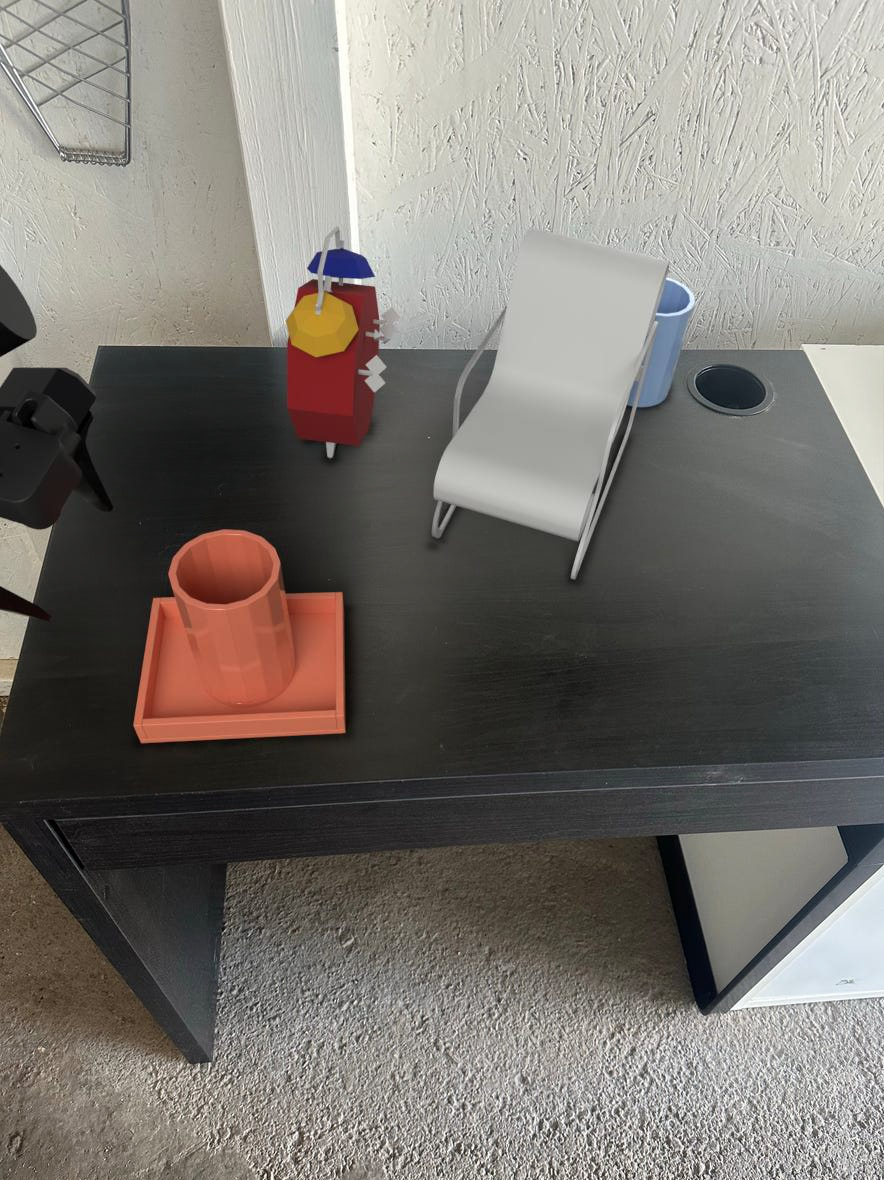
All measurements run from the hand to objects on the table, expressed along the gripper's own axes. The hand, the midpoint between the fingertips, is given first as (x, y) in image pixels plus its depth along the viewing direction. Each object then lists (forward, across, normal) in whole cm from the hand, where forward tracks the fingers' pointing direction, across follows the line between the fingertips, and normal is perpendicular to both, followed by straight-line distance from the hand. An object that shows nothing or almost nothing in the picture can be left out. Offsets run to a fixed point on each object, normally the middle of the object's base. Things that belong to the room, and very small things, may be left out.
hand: (78, 562), depth 63 cm
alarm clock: (+20, +29, 0) cm, 35 cm away
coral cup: (+13, -1, -7) cm, 15 cm away
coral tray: (+14, -1, -7) cm, 15 cm away
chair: (+26, +28, -19) cm, 43 cm away
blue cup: (+33, +47, -23) cm, 62 cm away
